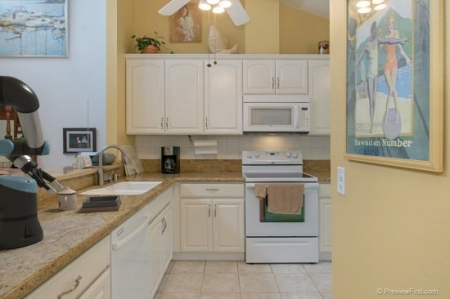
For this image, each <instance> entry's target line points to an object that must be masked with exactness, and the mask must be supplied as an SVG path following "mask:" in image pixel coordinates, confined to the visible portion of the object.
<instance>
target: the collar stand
mask: <svg viewBox="0 0 450 299" xmlns="http://www.w3.org/2000/svg"><path fill="white" fill-rule="evenodd" d="M81 204H82V205H81V206H82V207H81V208H80V214H88V213H91V214H92V213H104V212H105V213H106V212H107V213H108V212H118V211H119V210H120V207H121V205H122V199H121V195H119V194H118V195H103V196H100V195H98V196H88V197H87V198H85V200H84V201H82V203H81Z"/></svg>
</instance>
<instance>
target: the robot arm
mask: <svg viewBox="0 0 450 299" xmlns="http://www.w3.org/2000/svg"><path fill="white" fill-rule="evenodd" d="M0 106H1V107H2V106H3V107H4V106H5V107H8V106H9V107H12V109H13V110H14V111H15V112H16V113H17V117H18V121H19V123H20V127H21V130H22V133H23V134H22V135H23V138H24V140H10V139H9V138H7V139H0V156H2V157H4V158H6V159H7V160H8V161H10V162H11V163H12V164H13V165H14V167H15V168H16V167H17V168H18V169H19V170H20V171H21V172H22V173H23V174H25V175H28V176H29V177H27V176H13V175H8V176H7V175H6V176H5V175H4V176H2V175H1V176H0V250H8V249H9V250H10V249H16V248H22V247H27V246H29V245H33V244H37V243H39V242H40V241H42V240H43V239H44V237H45V236H44V229H43V228H42V225H41V222H40V221H39V218H38V212H39V211H38V192H39V190H38V188H40V189H41V188H43V189H44V190H46V192H48V194H50V195H51V196H54V195H55V194H56V193H57V192H61V191H63V190H64V189H65V186H63V185H62V184H60V183H59V182H58V181H57V178H56V177H54V176H52V175H51V174H50V173H48V172H46V171H45V170H44V169H42V168H41V167H39V168H38V166H39V163H37V161H35V160H34V159H33V158H32V157H31V156H36V157H40V156H42V157H43V156H49V155H50V153H51V142H50V140H45V138H44V134H43V133H44V132H43V129H42V127H43V126H42V123H41V119H40V114H39V109H40V101H39V98H38V96H37V94H36V93H35V91H34V90H33V89H32V88H31V87H30V86H29V84H28V83H26V82H24V81H22V79H19V78H17V77H14V76H10V75H0ZM47 182H48V183H47ZM49 183H50V184H51V185H50V184H49ZM56 189H57V190H56Z"/></svg>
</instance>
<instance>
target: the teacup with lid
mask: <svg viewBox="0 0 450 299" xmlns="http://www.w3.org/2000/svg"><path fill="white" fill-rule="evenodd" d="M77 193H78V192H77V191H76V190H75V189H70V186H67V187H64V189H62V190H61V191H58V193H57V195H58V196H57V197H58V210H59V211H71V210H75V209H77V202H78V201H77V200H78V199H77Z"/></svg>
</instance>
